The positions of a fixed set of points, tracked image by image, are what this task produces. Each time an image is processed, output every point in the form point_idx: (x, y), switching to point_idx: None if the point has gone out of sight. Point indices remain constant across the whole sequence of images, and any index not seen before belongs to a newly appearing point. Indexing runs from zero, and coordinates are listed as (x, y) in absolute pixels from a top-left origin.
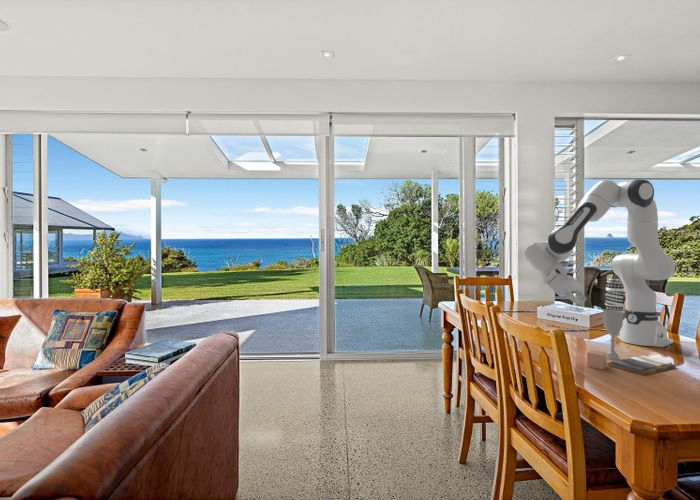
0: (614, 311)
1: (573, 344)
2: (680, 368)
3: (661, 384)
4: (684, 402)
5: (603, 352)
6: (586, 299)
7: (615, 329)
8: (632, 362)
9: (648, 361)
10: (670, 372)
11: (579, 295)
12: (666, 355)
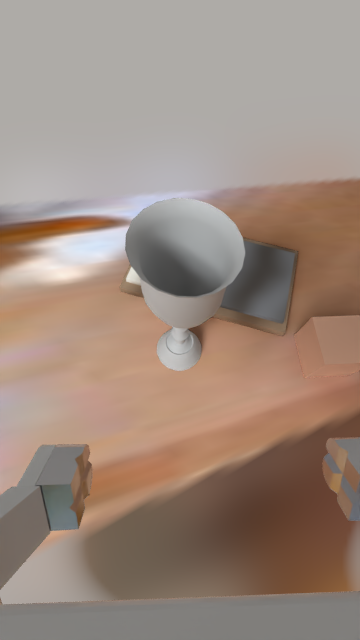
0: (132, 254)
1: (47, 540)
2: None
3: (332, 221)
4: None
5: (320, 325)
6: (49, 448)
7: (205, 284)
8: (240, 279)
9: None
10: None
11: (8, 562)
12: (21, 251)
